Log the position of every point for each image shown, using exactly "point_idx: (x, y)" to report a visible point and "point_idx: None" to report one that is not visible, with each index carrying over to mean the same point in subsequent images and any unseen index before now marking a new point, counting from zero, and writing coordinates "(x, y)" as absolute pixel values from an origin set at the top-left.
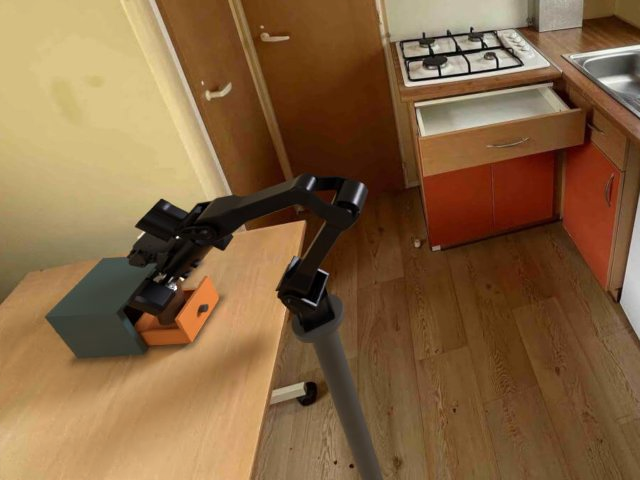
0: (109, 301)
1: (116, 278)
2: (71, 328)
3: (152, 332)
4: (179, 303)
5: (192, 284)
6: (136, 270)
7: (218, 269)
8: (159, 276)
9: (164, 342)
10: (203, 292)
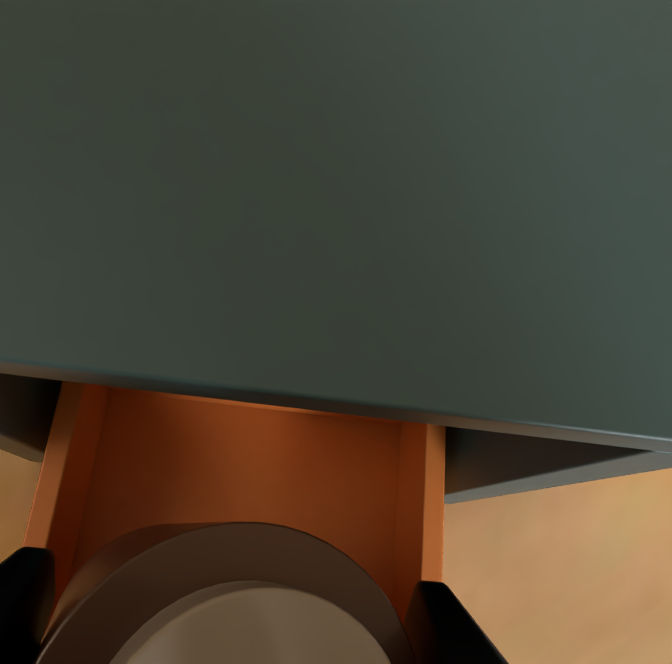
0: None
1: (389, 48)
2: None
3: (29, 532)
4: None
5: (530, 501)
6: (497, 211)
7: (647, 630)
8: (327, 655)
9: None
10: None
